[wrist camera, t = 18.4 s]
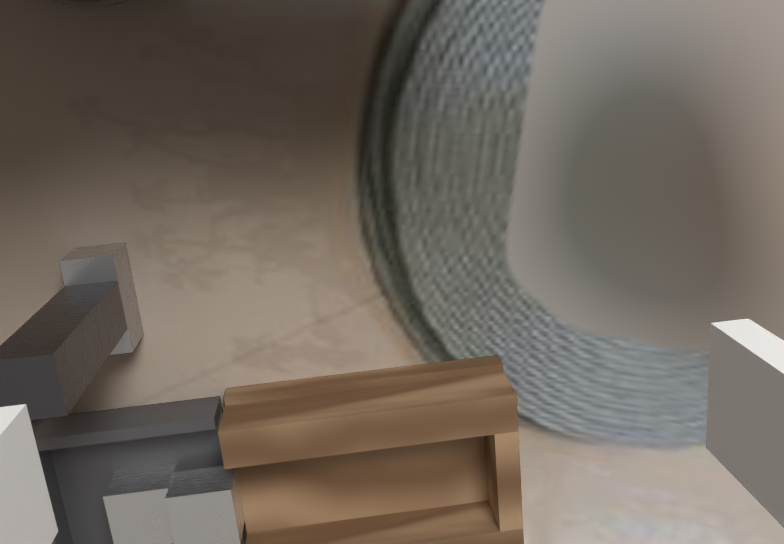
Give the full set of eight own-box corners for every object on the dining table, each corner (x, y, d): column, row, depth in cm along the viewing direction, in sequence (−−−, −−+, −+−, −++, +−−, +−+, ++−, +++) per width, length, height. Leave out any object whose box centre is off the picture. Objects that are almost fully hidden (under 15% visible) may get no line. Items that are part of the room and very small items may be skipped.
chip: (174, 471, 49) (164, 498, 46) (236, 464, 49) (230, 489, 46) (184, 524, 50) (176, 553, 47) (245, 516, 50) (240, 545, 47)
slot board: (226, 388, 49) (216, 424, 44) (497, 355, 50) (516, 387, 45) (255, 556, 53) (248, 606, 48) (506, 521, 54) (524, 567, 49)
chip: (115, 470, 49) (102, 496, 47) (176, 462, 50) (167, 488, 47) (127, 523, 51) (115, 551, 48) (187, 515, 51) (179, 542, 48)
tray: (32, 419, 48) (14, 442, 46) (220, 396, 49) (213, 417, 46) (72, 574, 52) (58, 605, 49) (246, 551, 53) (242, 579, 50)
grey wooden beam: (75, 248, 46) (-26, 330, 32) (125, 242, 46) (45, 321, 32) (95, 339, 47) (7, 453, 34) (143, 334, 48) (74, 445, 34)
